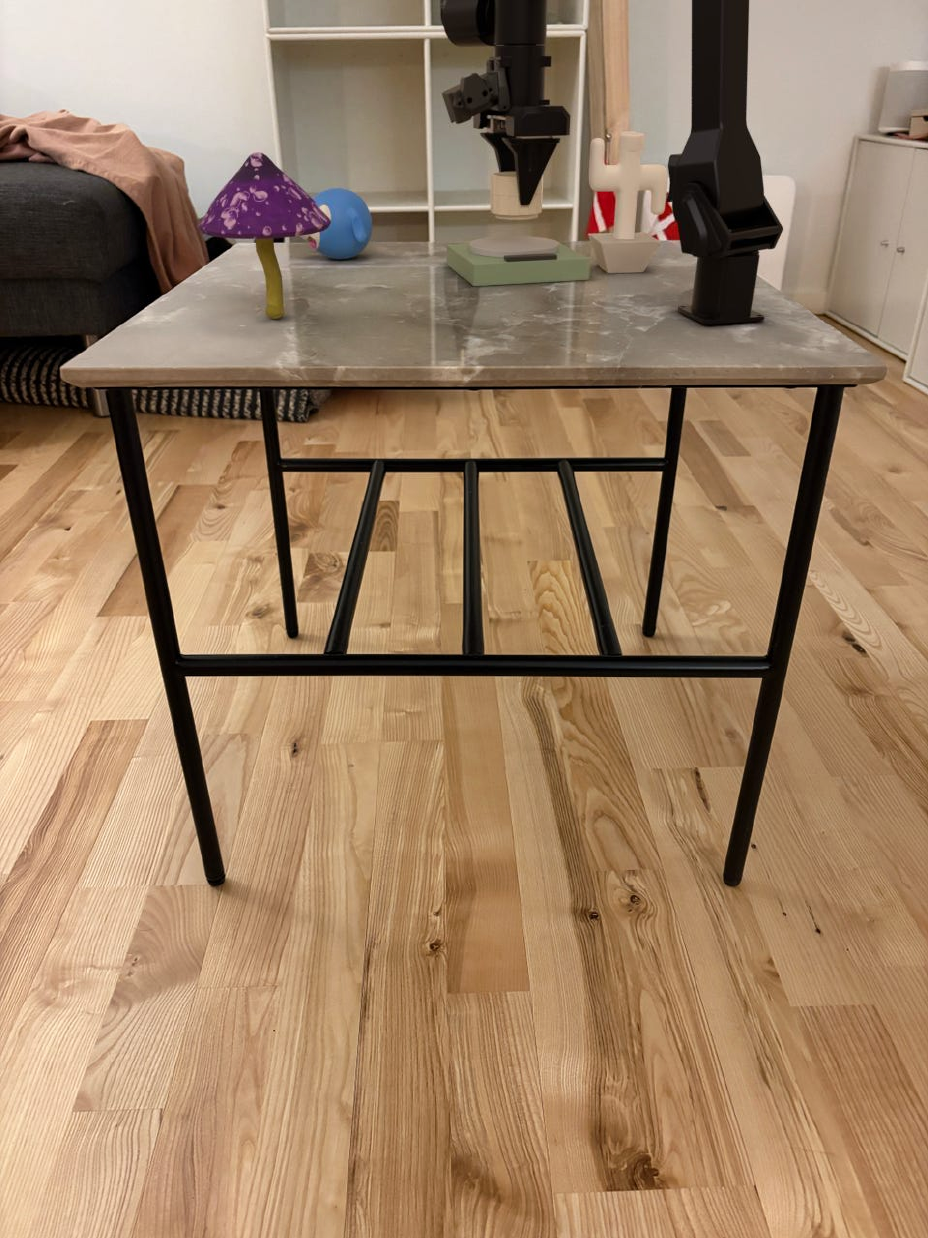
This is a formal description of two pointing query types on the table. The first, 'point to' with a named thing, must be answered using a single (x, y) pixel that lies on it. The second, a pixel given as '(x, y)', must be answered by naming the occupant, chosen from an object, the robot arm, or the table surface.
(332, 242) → the blue mole toy
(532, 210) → the beige wooden cup
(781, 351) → the table surface
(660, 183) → the figurine
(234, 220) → the decorative mushroom
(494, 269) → the scale
